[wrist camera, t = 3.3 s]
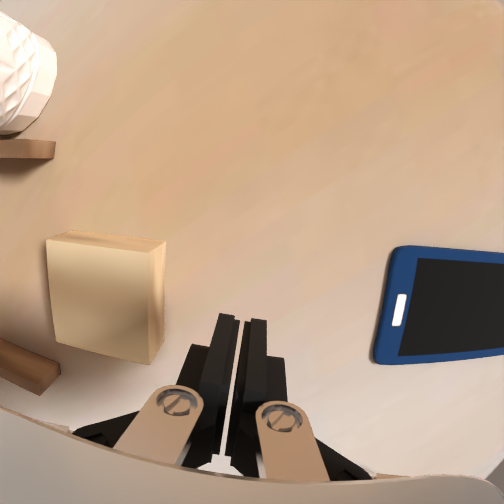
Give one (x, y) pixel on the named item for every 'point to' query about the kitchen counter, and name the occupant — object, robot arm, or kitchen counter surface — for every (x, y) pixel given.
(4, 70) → the white cup
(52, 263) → the tan square block
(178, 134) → the kitchen counter surface
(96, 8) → the kitchen counter surface
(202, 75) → the kitchen counter surface
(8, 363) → the corral
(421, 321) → the cell phone
